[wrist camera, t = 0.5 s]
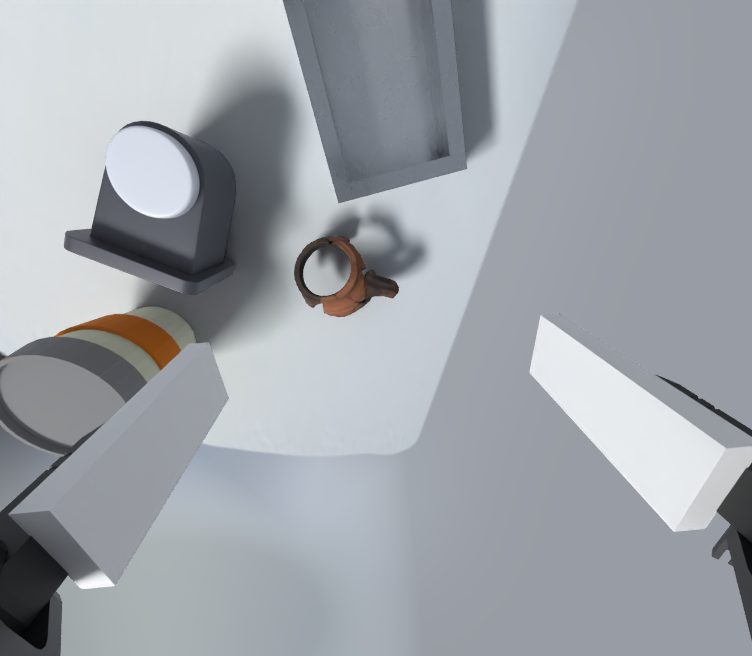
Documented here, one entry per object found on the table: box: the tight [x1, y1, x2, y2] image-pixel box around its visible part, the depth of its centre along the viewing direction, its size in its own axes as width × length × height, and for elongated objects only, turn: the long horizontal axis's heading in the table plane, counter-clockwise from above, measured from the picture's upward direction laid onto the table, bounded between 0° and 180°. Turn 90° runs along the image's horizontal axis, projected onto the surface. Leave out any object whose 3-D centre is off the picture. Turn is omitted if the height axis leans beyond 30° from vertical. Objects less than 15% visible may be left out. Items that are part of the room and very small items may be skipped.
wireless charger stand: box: [64, 121, 236, 295], centre depth 29 cm, size 11×13×11 cm
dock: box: [283, 0, 467, 203], centre depth 28 cm, size 18×13×5 cm
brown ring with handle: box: [294, 237, 399, 317], centre depth 36 cm, size 12×10×8 cm
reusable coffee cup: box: [0, 306, 196, 457], centre depth 34 cm, size 13×13×15 cm
